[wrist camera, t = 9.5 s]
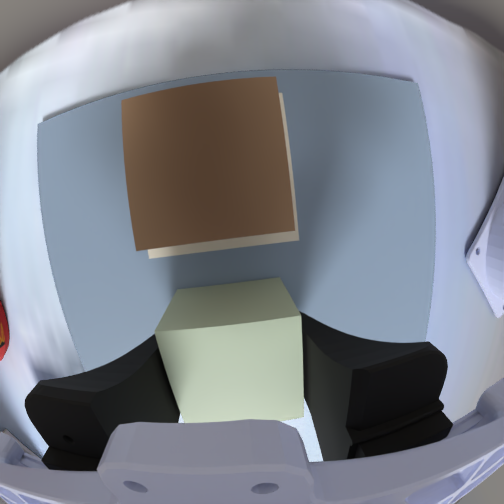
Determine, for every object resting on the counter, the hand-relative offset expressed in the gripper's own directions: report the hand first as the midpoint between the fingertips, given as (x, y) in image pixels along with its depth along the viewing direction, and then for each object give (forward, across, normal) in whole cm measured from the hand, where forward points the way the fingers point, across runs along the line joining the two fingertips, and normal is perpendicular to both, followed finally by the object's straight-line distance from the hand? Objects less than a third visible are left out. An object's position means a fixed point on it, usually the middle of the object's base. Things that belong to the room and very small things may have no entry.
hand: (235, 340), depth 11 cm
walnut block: (+1, 0, -7) cm, 7 cm away
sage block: (+1, 0, 0) cm, 1 cm away
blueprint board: (+2, -1, -4) cm, 4 cm away
